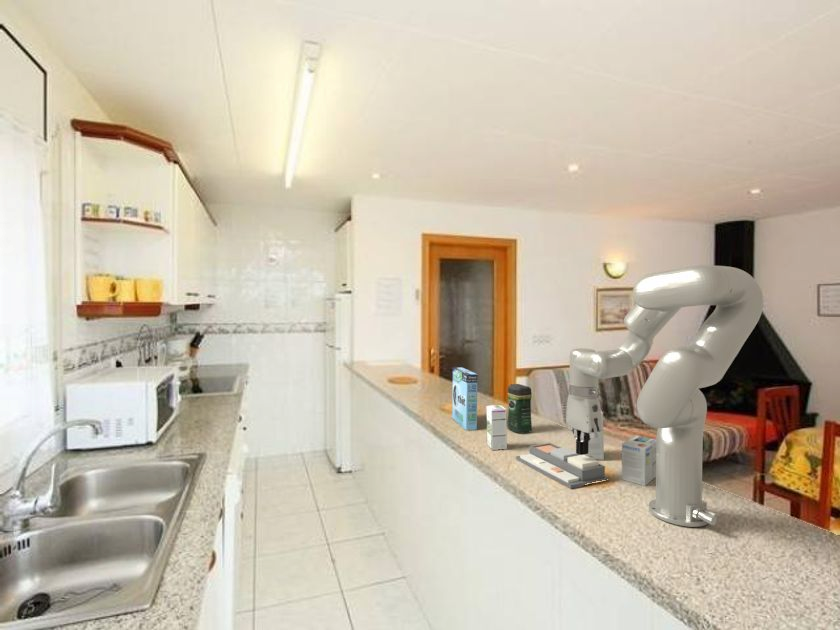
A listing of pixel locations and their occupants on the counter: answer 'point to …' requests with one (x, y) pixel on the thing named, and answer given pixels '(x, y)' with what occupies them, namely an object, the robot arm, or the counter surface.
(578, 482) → the keypad
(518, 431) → the coffee jar
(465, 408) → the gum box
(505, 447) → the syrup box
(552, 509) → the counter surface
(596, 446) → the skincare box
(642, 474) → the light bulb box
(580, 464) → the cream key
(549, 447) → the terracotta key
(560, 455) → the grey key
